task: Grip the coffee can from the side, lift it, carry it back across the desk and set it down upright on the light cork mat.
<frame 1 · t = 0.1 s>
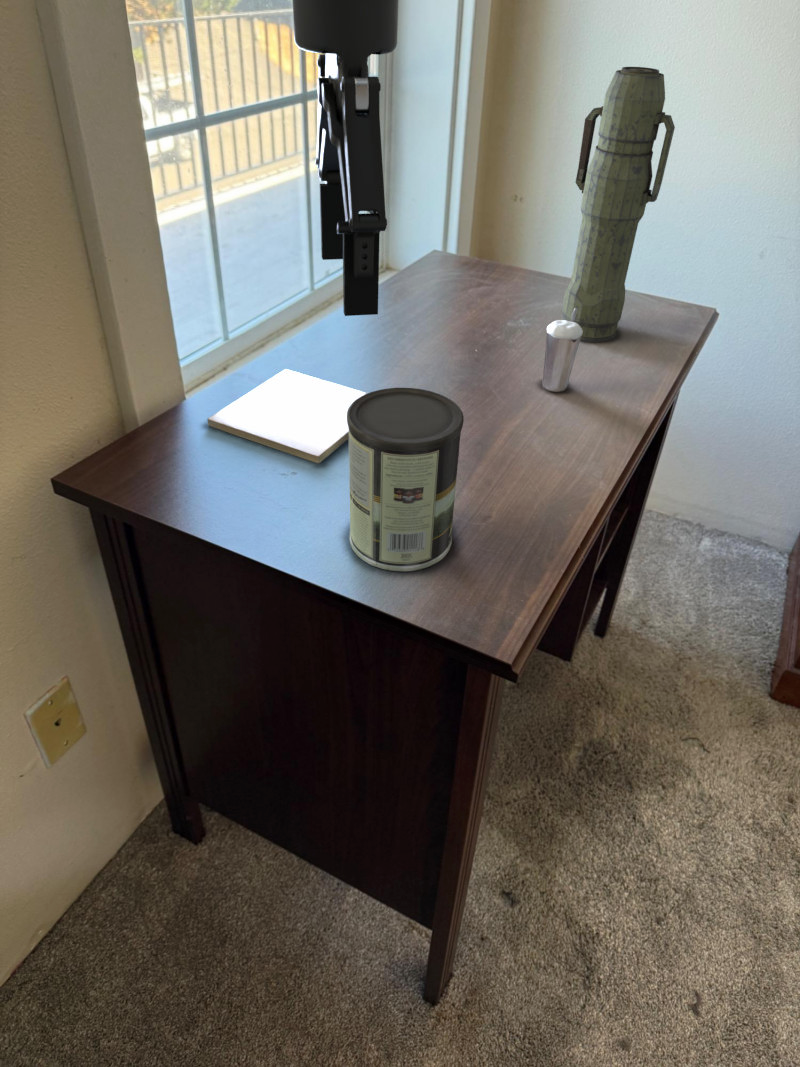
hand: (347, 284, 66), 23 cm above the table, tool pointing down, fingers open, 13 cm apart
thermos: (587, 331, 117), on the table
milkshake: (555, 386, 102), on the table
cork mat: (300, 415, 93), on the table
coffee can: (399, 540, 74), on the table
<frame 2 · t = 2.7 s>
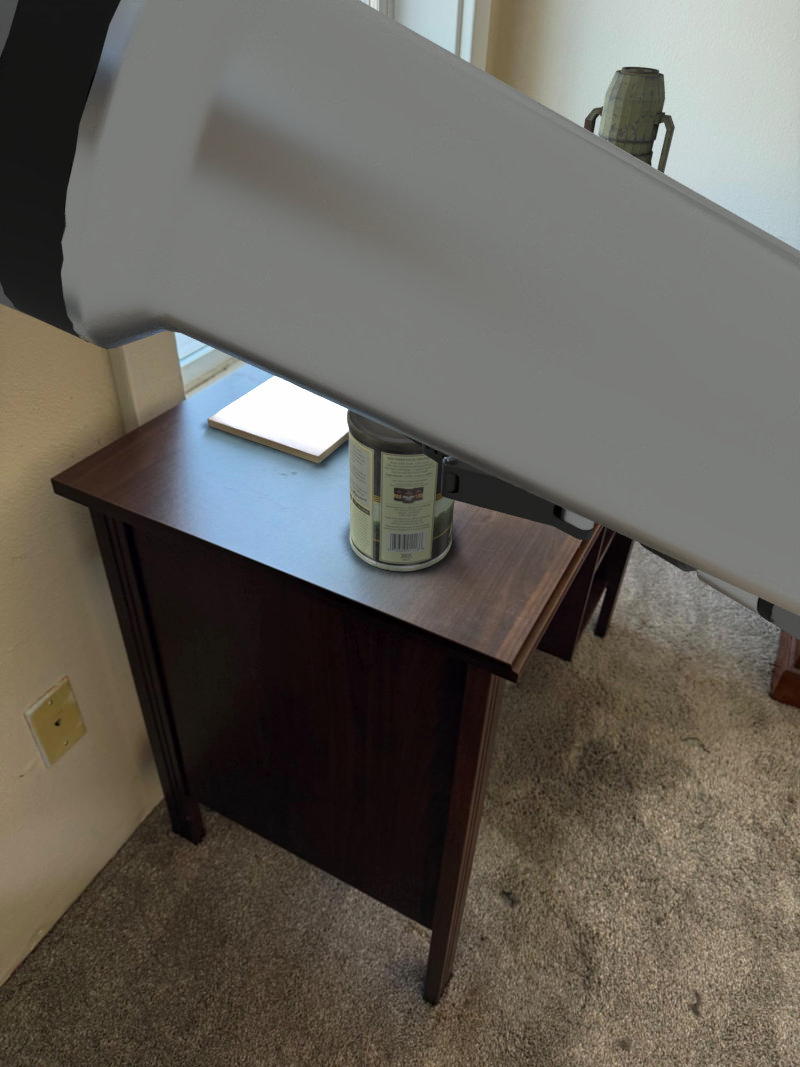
hand: (474, 388, 56), 20 cm above the table, tool horizontal, fingers open, 13 cm apart
nothing on the table moved.
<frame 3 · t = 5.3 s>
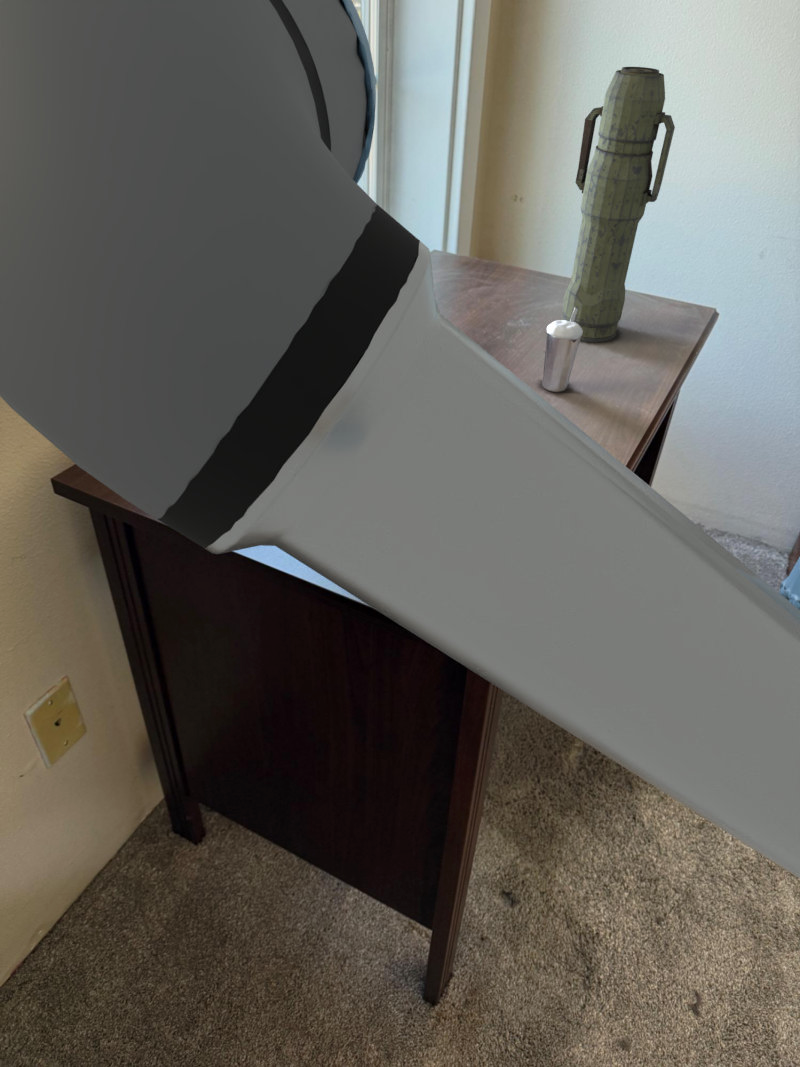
hand: (453, 505, 65), 8 cm above the table, tool horizontal, fingers open, 13 cm apart
nothing on the table moved.
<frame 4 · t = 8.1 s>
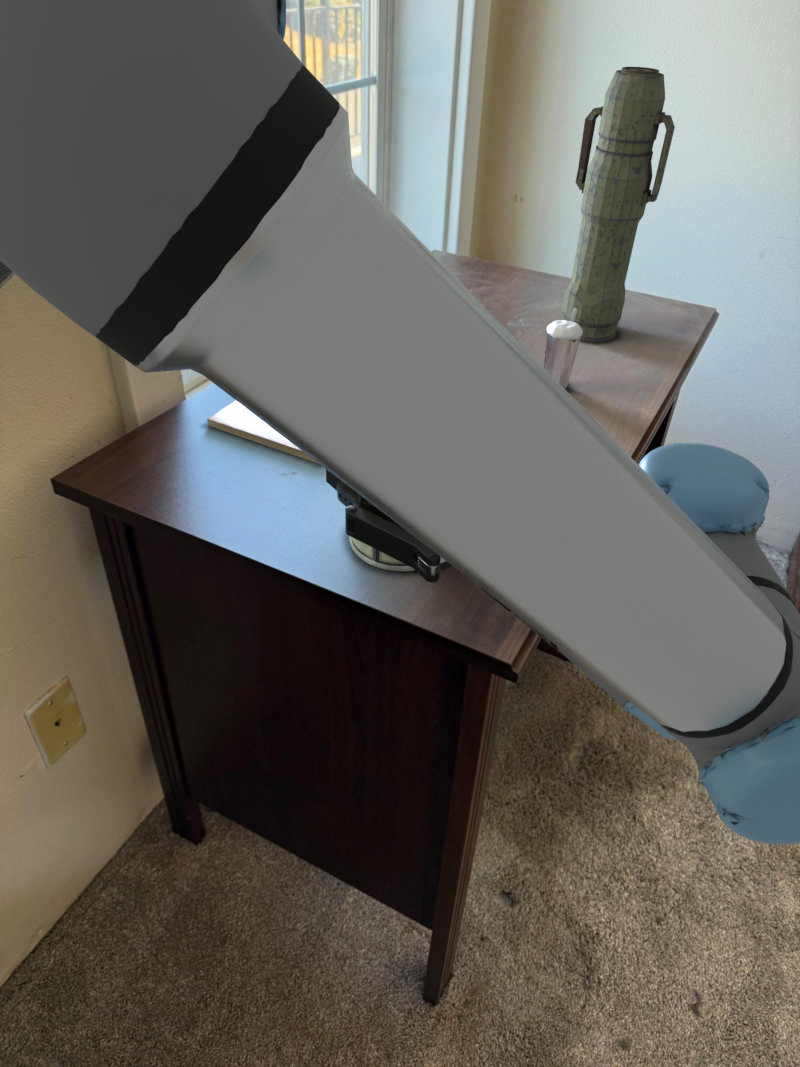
hand: (375, 451, 72), 8 cm above the table, tool horizontal, fingers closed on coffee can, 10 cm apart
coffee can: (399, 540, 74), on the table, touching gripper
everything else where it was.
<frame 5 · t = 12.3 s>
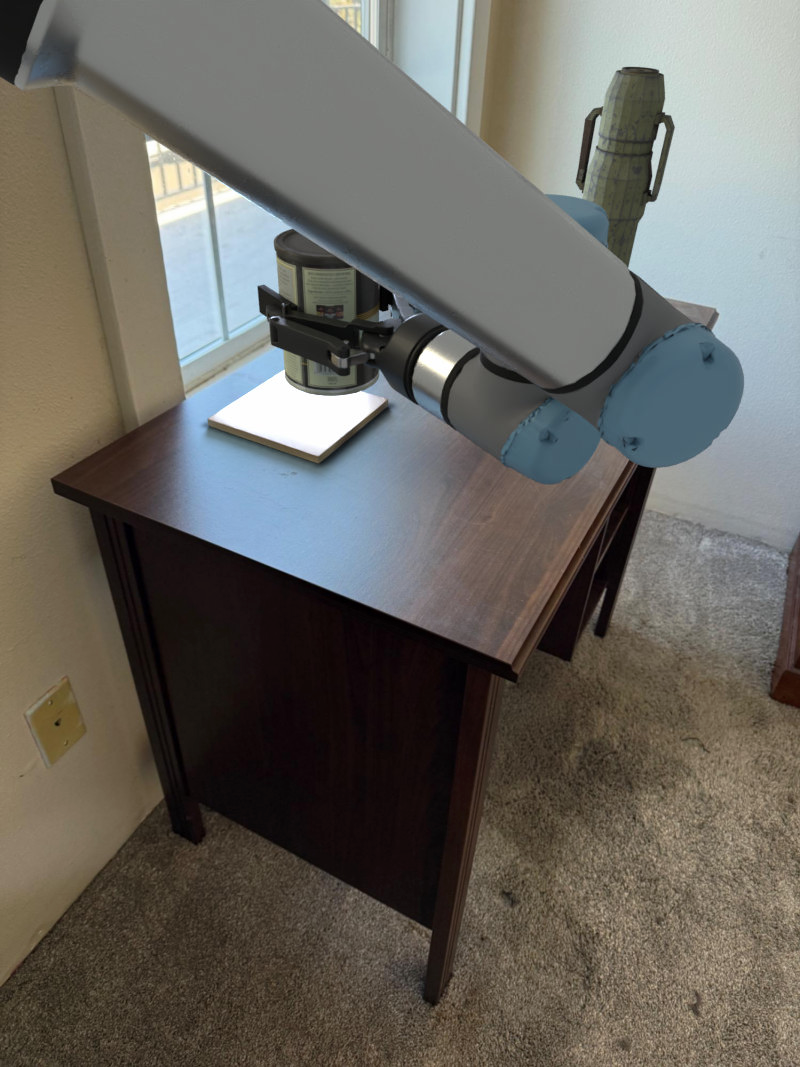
hand: (307, 288, 78), 18 cm above the table, tool horizontal, fingers closed on coffee can, 10 cm apart
coffee can: (331, 376, 80), point 10 cm above the table, touching gripper
everything else where it was.
when the fingers open (9 cm above the table, at t = 16.5 s): coffee can stays where it is, resting on cork mat.
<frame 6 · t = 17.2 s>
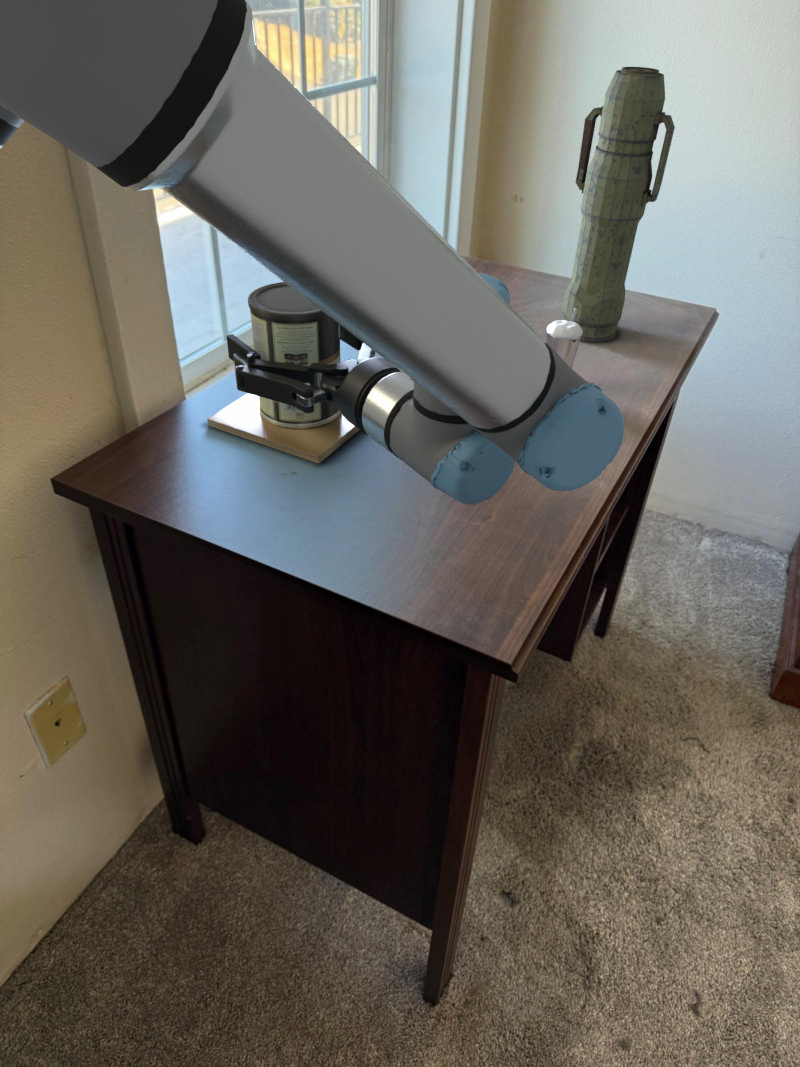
hand: (282, 332, 89), 10 cm above the table, tool horizontal, fingers open, 13 cm apart
coffee can: (300, 409, 92), point 1 cm above the table, touching cork mat
everything else where it was.
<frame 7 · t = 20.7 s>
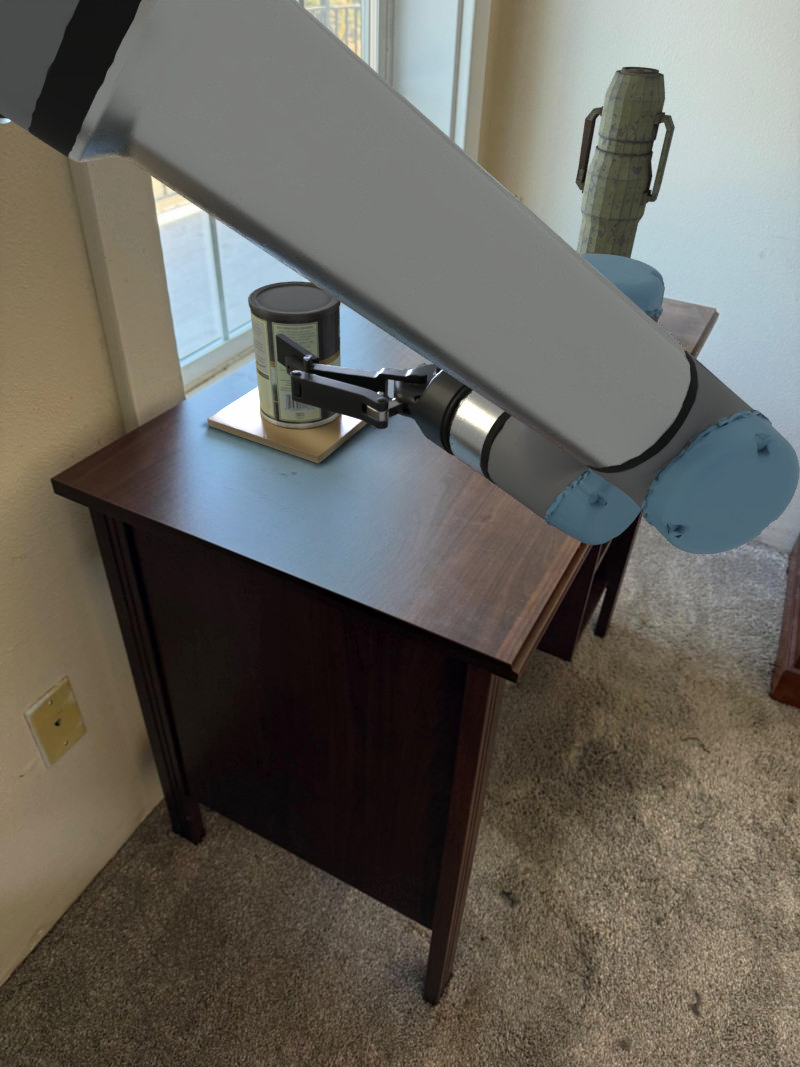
hand: (338, 331, 75), 15 cm above the table, tool horizontal, fingers open, 13 cm apart
nothing on the table moved.
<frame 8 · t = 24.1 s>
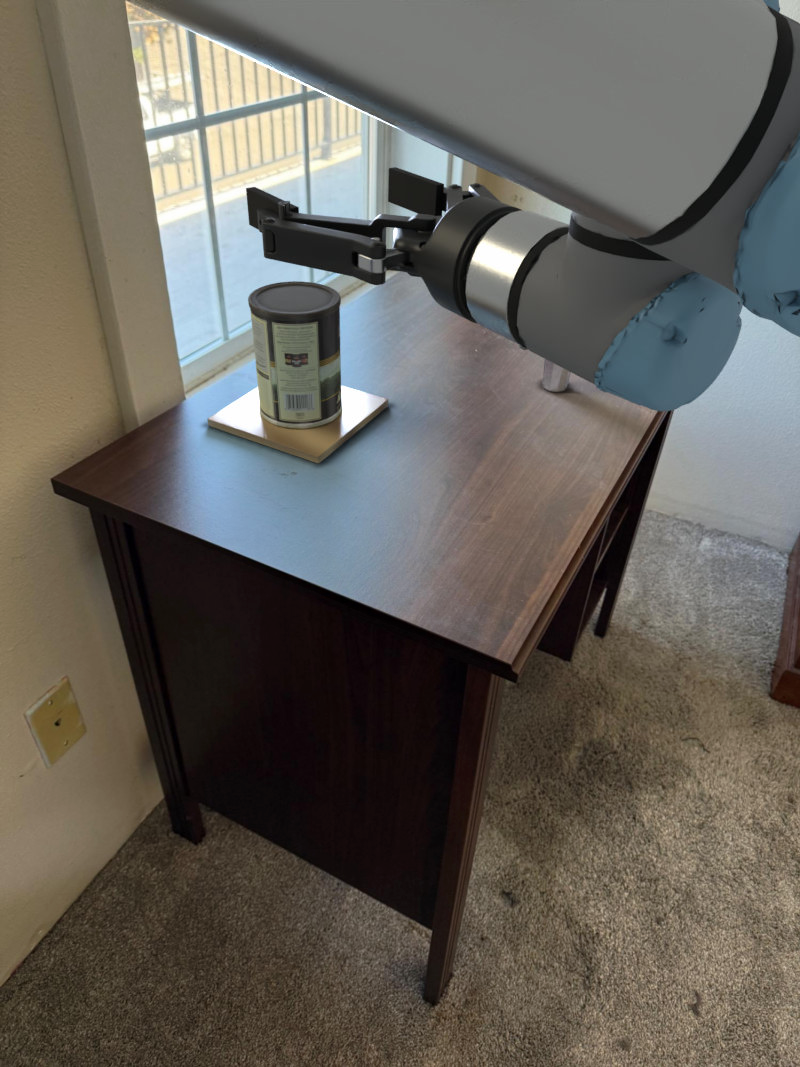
hand: (325, 194, 61), 30 cm above the table, tool horizontal, fingers open, 13 cm apart
nothing on the table moved.
at the end: coffee can inside the target area on the cork mat (0.0 cm from its centre), point 0.8 cm above the cork mat's base; coffee can tilted 0°; the gripper is holding nothing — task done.
